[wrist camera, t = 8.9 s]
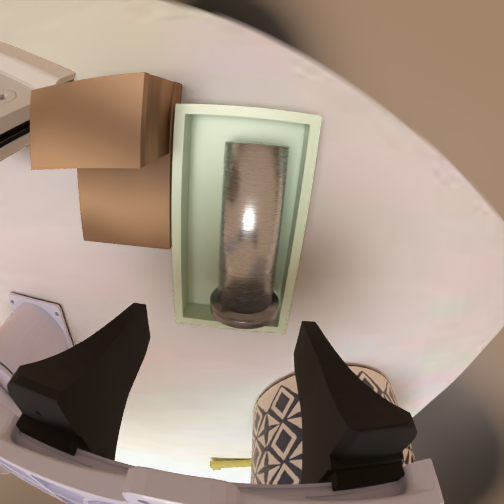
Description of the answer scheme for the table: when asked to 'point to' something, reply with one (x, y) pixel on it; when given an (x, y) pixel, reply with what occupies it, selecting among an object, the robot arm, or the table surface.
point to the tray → (210, 196)
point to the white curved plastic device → (22, 93)
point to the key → (230, 463)
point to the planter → (294, 430)
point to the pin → (249, 233)
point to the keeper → (112, 152)
